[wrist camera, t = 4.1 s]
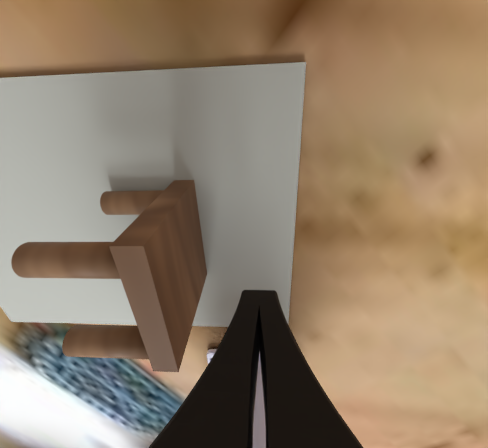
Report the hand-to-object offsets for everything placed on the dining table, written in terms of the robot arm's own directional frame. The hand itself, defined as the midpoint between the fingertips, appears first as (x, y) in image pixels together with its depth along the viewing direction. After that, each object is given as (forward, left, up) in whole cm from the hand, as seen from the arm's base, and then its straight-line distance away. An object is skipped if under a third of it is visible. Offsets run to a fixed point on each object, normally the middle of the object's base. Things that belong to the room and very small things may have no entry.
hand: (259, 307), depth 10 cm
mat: (0, +10, -7) cm, 12 cm away
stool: (0, +6, -6) cm, 9 cm away
